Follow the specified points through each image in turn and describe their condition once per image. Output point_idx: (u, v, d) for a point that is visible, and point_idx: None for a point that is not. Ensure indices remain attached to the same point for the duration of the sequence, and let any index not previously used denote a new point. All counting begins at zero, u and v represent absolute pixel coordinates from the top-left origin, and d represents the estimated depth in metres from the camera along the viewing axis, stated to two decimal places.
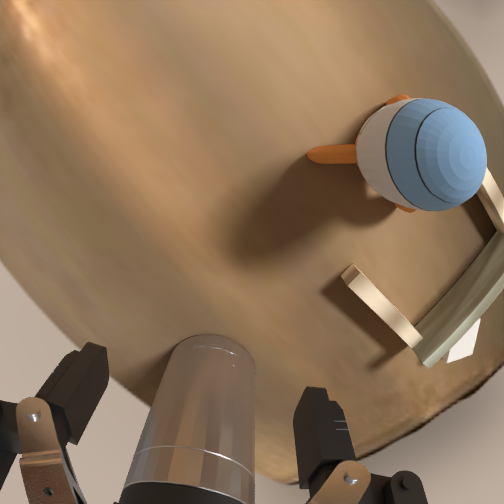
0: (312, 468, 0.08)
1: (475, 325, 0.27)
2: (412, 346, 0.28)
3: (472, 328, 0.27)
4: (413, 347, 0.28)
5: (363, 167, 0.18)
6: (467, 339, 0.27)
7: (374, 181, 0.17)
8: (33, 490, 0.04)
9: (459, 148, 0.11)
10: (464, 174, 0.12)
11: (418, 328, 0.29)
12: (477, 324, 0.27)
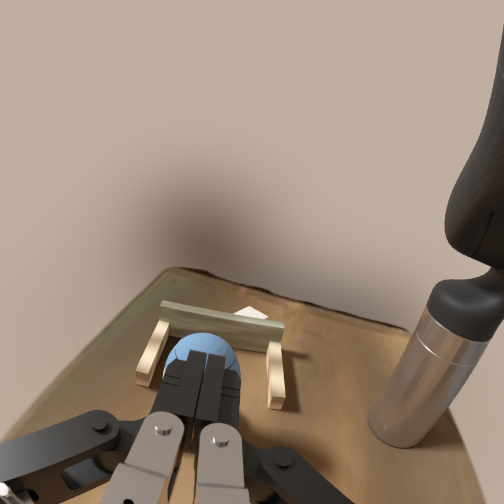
0: None
1: None
2: (279, 343, 0.44)
3: None
4: (279, 342, 0.45)
5: None
6: (246, 315, 0.49)
7: None
8: (113, 495, 0.05)
9: (207, 346, 0.23)
10: (216, 340, 0.24)
11: (265, 349, 0.45)
12: None
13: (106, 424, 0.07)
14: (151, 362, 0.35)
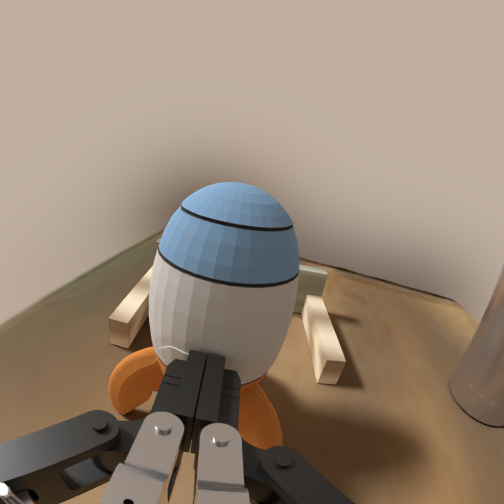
0: None
1: None
2: (319, 297, 0.32)
3: None
4: (319, 296, 0.32)
5: (278, 348, 0.14)
6: None
7: None
8: (113, 495, 0.05)
9: (244, 187, 0.13)
10: None
11: (300, 307, 0.33)
12: None
13: (106, 424, 0.07)
14: (135, 309, 0.23)
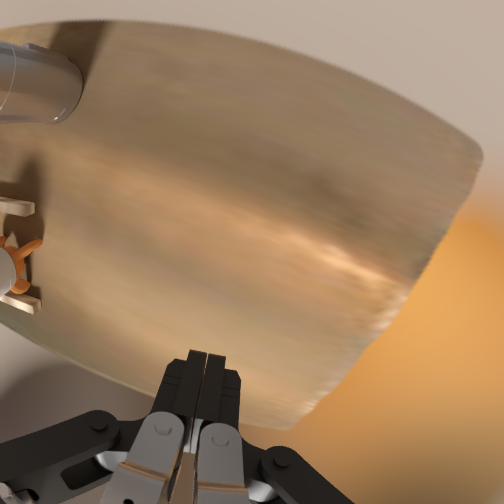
0: None
1: None
2: None
3: None
4: None
5: (3, 257, 0.32)
6: None
7: None
8: (113, 495, 0.05)
9: None
10: None
11: None
12: None
13: (106, 424, 0.07)
14: (23, 303, 0.40)
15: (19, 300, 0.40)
